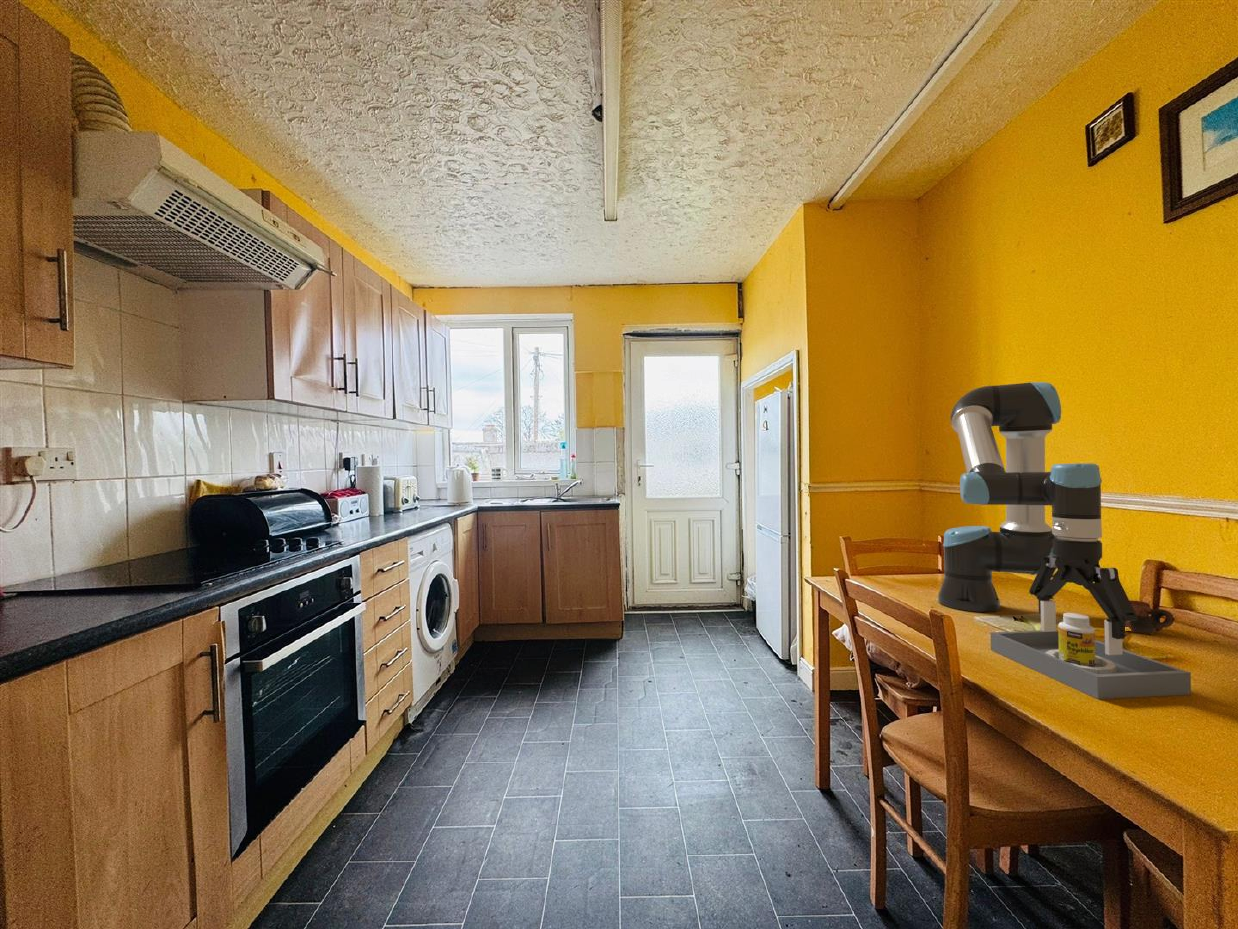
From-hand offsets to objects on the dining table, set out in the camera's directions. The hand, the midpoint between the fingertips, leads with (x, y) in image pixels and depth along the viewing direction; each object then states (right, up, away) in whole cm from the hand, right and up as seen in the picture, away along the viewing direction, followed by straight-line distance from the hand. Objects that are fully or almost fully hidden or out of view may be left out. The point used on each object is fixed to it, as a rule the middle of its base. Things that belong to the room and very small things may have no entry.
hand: (1079, 642), depth 102 cm
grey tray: (0, -6, 0) cm, 6 cm away
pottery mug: (+36, -5, +23) cm, 43 cm away
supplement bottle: (-1, -5, 0) cm, 5 cm away
